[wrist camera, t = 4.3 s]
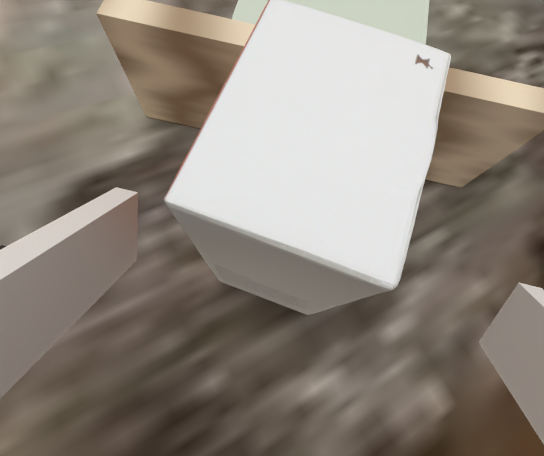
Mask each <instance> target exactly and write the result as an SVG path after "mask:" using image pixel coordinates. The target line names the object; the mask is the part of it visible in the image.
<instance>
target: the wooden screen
mask: <svg viewBox="0 0 544 456" xmlns="http://www.w3.org/2000/svg"><path fill="white" fill-rule="evenodd" d="M96 14H97V16H98V18H99V20H100V22H101V24H102V26H103V28H104V30H105V32H106V34H107V36H108V38H109V40H110V42H111V44H112V47H113V49H114V51H115V53H116V55H117V57H118V59H119V61H120V63H121V65H122V67H123V69H124V71H125V73H126V75H127V77H128V80H129V82H130V84H131V86H132V88H133V90H134V92H135V94H136V96H137V98H138V100H139V102H140V104H141V106H142V108H143V111H144V113H145V115H146V116H147V117H151V118H155V119H160V120H164V121H169V122H173V123H178V124H182V125H186V126H191V127H195V128H200V129H201V128H202V126H203V124H204V122H205V119H206V118H207V116H208V114H209V112H210V110H211V108H212V106H213V104H214V102H215V101H216V99H217V97H218V95H219V93H220V91H221V89H222V87H223V85H224V83H225V82H226V80H227V78H228V77H229V75H230V73H231V71H232V69H233V67H234V65H235V63H236V61H237V59H238V57H239V55H240V53H241V51H242V49H243V47H244V46H245V44H246V42H247V40H248V38H249V36H250V34H251V33H252V31H253V29H254V27H255V24H251V23H246V22H242V21H237V20H233V19H228V18H224V17H219V16H215V15H210V14H206V13H201V12H197V11H192V10H188V9H183V8H178V7H174V6H169V5H165V4H160V3H156V2H151V1H147V0H104V1H103V3H102V4H101V6H100V8H99V10H98V11H97V13H96ZM543 130H544V88H539V87H535V86H530V85H526V84H521V83H517V82H512V81H508V80H503V79H499V78H494V77H490V76H485V75H480V74H476V73H471V72H467V71H462V70H458V69H453V68H449V69H448V74H447V78H446V83H445V89H444V93H443V97H442V103H441V108H440V112H439V118H438V127H437V134H436V139H435V145H434V150H433V154H432V158H431V162H430V165H429V169H428V172H427V175H426V178H425V180H429V181H434V182H438V183H443V184H447V185H451V186H456V187H460V188H461V187H463V186H464V185H466V184H467V183H469V182H470V181H471V180H473V179H474V178H476V177H477V176H479V175H480V174H482V173H483V172H484V171H486V170H487V169H489V168H490V167H492V166H493V165H494V164H496V163H497V162H499V161H500V160H502V159H503V158H504V157H506V156H507V155H509V154H510V153H512V152H513V151H515V150H516V149H517V148H519V147H520V146H522V145H523V144H525V143H526V142H527V141H529V140H530V139H532V138H533V137H535V136H536V135H538V134H539V133H540V132H542V131H543Z"/></svg>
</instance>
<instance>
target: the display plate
mask: <svg viewBox="0 0 544 456" xmlns="http://www.w3.org/2000/svg"><path fill="white" fill-rule="evenodd" d="M285 1H288V2H292V3H296V4H299V5H302V6H306V7H309V8H313V9H316V10H319V11H322V12H325V13H328V14H331V15H335V16H339V17H342V18H345V19H348V20H352V21H355V22H358V23H361V24H364V25H367V26H370V27H374V28H377V29H380V30H383V31H386V32H389V33H393V34H396V35H399V36H402V37H405V38H408V39H411V40H414V41H417V42H419V43H422V44H425V45H426V35H427V22H428V9H429V0H285ZM267 2H268V0H238V3H237V6H236V8H235V11H234V14H233V16H232V19H233V20H237V21H242V22H246V23H251V24H255V25H256V23H257V21H258V19H259V17H260V15H261V13H262V11H263V9H264V8H265V6H266V4H267Z"/></svg>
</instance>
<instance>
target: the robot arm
mask: <svg viewBox="0 0 544 456" xmlns="http://www.w3.org/2000/svg"><path fill="white" fill-rule="evenodd" d="M137 223H138V192H133V191H129V190H125V189H121V188H117V187H116V188H114V189H112V190H111V191H109V192H107V193H105V194H103V195H101V196H99V197H98V198H96V199H94V200H92V201H90V202H88V203H86V204H85V205H83V206H81V207H79V208H77V209H75V210H73V211H71V212H70V213H68V214H66V215H64V216H62V217H60V218H58V219H57V220H55V221H53V222H51V223H49V224H47V225H45V226H44V227H42V228H40V229H38V230H36V231H34V232H32V233H31V234H29V235H27V236H25V237H23V238H21V239H19V240H17V241H16V242H14V243H12V244H10V245H8V246H3V245H2V246H0V399H1V398H2V397H3V396H4V395H5V394H6V393H7V392H8V390H9V389H10V388H11V387H12V386H13V385H14V384H15V383H16V382H17V381H18V380H19V379H20V378H21V377H22V376H23V375H24V374H25V373H26V372H27V371H28V370H29V369H30V368H31V367H32V366H33V365H34V364H35V363H36V362H37V361H38V360H39V359H40V358H41V357H42V356H43V355H44V354H45V353H46V352H47V351H48V350H49V349H50V348H51V347H52V346H53V345H54V344H55V343H56V342H57V341H58V340H59V339H60V338H61V337H62V336H63V335H64V334H65V333H66V332H67V331H68V330H69V329H70V328H71V327H72V326H73V325H74V324H75V322H76V321H77V320H78V319H79V318H80V317H81V316H82V315H83V314H84V313H85V312H86V311H87V310H88V309H89V308H90V307H91V306H92V305H93V304H94V303H95V302H96V301H97V300H98V299H99V298H100V297H101V296H102V295H103V294H104V293H105V292H106V291H107V290H108V289H109V288H110V287H111V286H112V285H113V284H114V283H115V282H116V281H117V280H118V279H119V278H120V277H121V276H122V275H123V274H124V273H125V272H126V271H127V270H128V269H129V268H130V267H131V266H132V265H133V264H134V263H135V262H136V261H137ZM479 344H480V346H481V347H482V349H483V350H484V352H485V353H486V355H487V357H488V358H489V360H490V361H491V363H492V364H493V366H494V367H495V369H496V371H497V372H498V374H499V375H500V377H501V378H502V380H503V382H504V383H505V385H506V386H507V388H508V389H509V391H510V392H511V394H512V396H513V397H514V399H515V400H516V402H517V403H518V405H519V407H520V408H521V410H522V411H523V413H524V414H525V416H526V418H527V419H528V421H529V422H530V424H531V425H532V427H533V428H534V430H535V432H536V433H537V435H538V436H539V438H540V439H541V441H542V443H543V444H544V290H543V289H542V288H539V287H535V286H531V285H526V284H522V283H518V284H517V286H516V287H515V289H514V290H513V292H512V293H511V295H510V296H509V298H508V299H507V301H506V302H505V304H504V305H503V307H502V308H501V310H500V311H499V313H498V314H497V316H496V317H495V319H494V320H493V321H492V323H491V324H490V326H489V327H488V329H487V330H486V332H485V333H484V335H483V336H482V338H481V339H480V341H479Z"/></svg>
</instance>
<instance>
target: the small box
mask: <svg viewBox="0 0 544 456" xmlns="http://www.w3.org/2000/svg"><path fill="white" fill-rule="evenodd" d="M450 61H451V55H450V54H449V53H446V52H444V51H441V50H438V49H436V48H433V47H430V46H428V45H425V44H422V43H419V42H417V41H414V40H411V39H408V38H405V37H402V36H399V35H396V34H393V33H389V32H386V31H383V30H380V29H377V28H374V27H370V26H367V25H364V24H361V23H358V22H355V21H352V20H348V19H345V18H342V17H339V16H335V15H331V14H328V13H325V12H322V11H319V10H316V9H313V8H309V7H306V6H302V5H299V4H296V3H292V2H288V1H285V0H268V2H267V4H266V6H265V8H264V9H263V11H262V13H261V15H260V17H259V19H258V21H257V23H256V25H255V27H254V29H253V31H252V33H251V34H250V36H249V38H248V40H247V42H246V44H245V46H244V47H243V49H242V51H241V53H240V55H239V57H238V59H237V61H236V63H235V65H234V67H233V69H232V71H231V73H230V75H229V77H228V78H227V80H226V82H225V83H224V85H223V87H222V89H221V91H220V93H219V95H218V97H217V99H216V101H215V102H214V104H213V106H212V108H211V110H210V112H209V114H208V116H207V118H206V119H205V122H204V124H203V126H202V128H201V129H200V131H199V133H198V135H197V137H196V139H195V141H194V143H193V145H192V147H191V148H190V150H189V152H188V154H187V156H186V158H185V160H184V162H183V164H182V165H181V167H180V169H179V171H178V173H177V175H176V177H175V179H174V181H173V183H172V185H171V187H170V189H169V191H168V192H167V194H166V196H165V197H164V201H165V203H166V205H167V206H168V208H169V209H170V211H171V212H172V214H173V215H174V216H175V218H176V219H177V221H178V222H179V224H180V225H181V227H182V228H183V230H184V231H185V233H186V234H187V236H188V237H189V238H190V240H191V241H192V243H193V244H194V245H195V247H196V249H197V250H198V251H199V253H200V254H201V256H202V257H203V259H204V260H205V262H206V263H207V265H208V266H209V268H210V269H211V271H212V272H213V273H214V275H215V276H216V278H217V279H218V280H219V281H220V282H222V283H225V284H228V285H230V286H233V287H235V288H238V289H241V290H243V291H246V292H249V293H251V294H254V295H256V296H259V297H262V298H264V299H267V300H269V301H272V302H275V303H277V304H280V305H282V306H285V307H288V308H290V309H293V310H296V311H298V312H301V313H303V314H306V315H311V314H315V313H318V312H321V311H325V310H328V309H330V308H333V307H337V306H340V305H344V304H347V303H350V302H353V301H356V300H359V299H362V298H366V297H369V296H373V295H375V294H379V293H383V292H387V291H391V290H393V289H395V288H396V287H397V286H398V283H399V281H400V278H401V274H402V270H403V266H404V262H405V259H406V255H407V251H408V246H409V242H410V239H411V235H412V231H413V227H414V223H415V218H416V214H417V210H418V206H419V202H420V197H421V193H422V189H423V185H424V182H425V178H426V175H427V172H428V169H429V165H430V162H431V158H432V154H433V150H434V145H435V139H436V134H437V127H438V118H439V112H440V108H441V103H442V97H443V93H444V89H445V83H446V78H447V74H448V69H449V65H450Z"/></svg>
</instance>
